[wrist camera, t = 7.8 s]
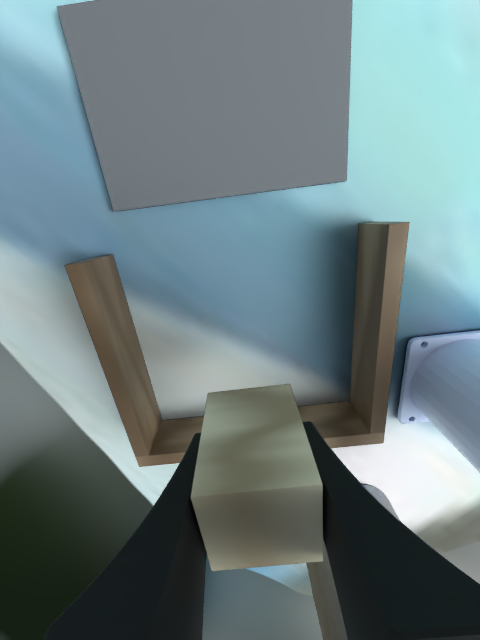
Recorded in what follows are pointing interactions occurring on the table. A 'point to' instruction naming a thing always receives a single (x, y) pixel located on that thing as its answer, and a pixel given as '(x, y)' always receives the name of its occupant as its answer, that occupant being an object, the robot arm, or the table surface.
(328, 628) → the pillar candle
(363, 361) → the open wooden frame
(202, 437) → the birch block
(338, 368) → the table surface
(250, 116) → the mat
